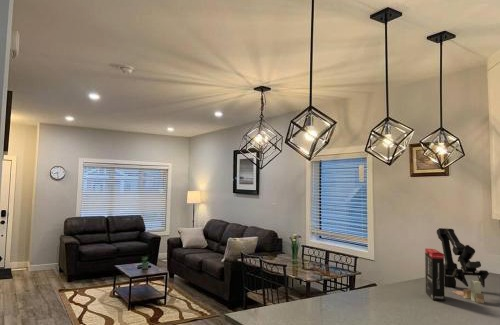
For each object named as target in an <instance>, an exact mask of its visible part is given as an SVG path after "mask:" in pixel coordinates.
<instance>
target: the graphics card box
mask: <svg viewBox="0 0 500 325" xmlns="http://www.w3.org/2000/svg"><path fill="white" fill-rule="evenodd" d="M424 259H425V260H424V262H425V264H424V265H425V269H424V272H425V273H424V274H425V293H426V294H427V296H429V298H430V299H431V300H432V301H437V302H445V300H446V299H445V286H444V264H445V258H444V253H442V252H441V251H439V250H437V249H435V248H434V249H433V248H425V249H424Z"/></svg>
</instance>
